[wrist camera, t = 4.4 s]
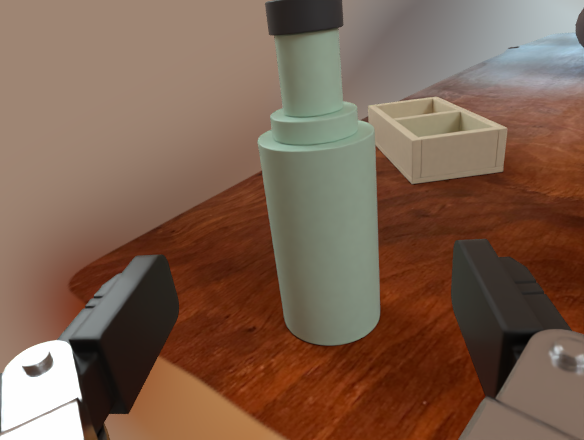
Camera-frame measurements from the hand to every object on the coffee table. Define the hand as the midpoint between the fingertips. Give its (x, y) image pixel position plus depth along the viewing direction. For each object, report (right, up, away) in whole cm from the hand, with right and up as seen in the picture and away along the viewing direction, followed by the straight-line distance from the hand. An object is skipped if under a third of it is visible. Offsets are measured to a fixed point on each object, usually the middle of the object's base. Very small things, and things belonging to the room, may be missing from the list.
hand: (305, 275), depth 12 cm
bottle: (+2, -4, +12) cm, 12 cm away
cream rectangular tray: (+14, +9, +33) cm, 37 cm away
